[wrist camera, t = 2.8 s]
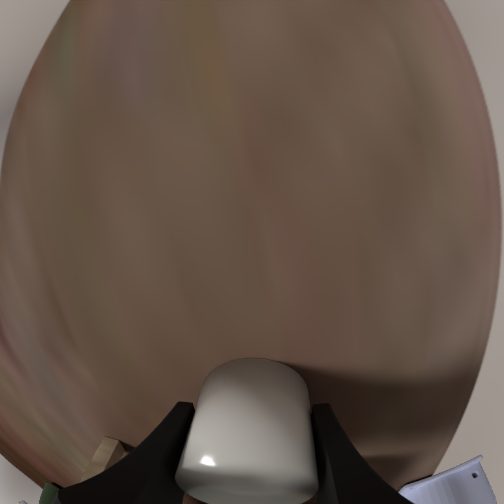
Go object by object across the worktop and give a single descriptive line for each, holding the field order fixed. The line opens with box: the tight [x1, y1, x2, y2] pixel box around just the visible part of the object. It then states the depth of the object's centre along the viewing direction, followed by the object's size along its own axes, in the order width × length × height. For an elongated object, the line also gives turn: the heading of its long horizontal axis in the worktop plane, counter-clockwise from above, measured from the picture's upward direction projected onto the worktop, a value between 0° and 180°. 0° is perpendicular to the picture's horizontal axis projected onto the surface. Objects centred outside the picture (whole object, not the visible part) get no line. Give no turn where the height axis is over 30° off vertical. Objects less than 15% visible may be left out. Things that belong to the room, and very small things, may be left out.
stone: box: [175, 358, 319, 504], centre depth 9 cm, size 5×5×5 cm
